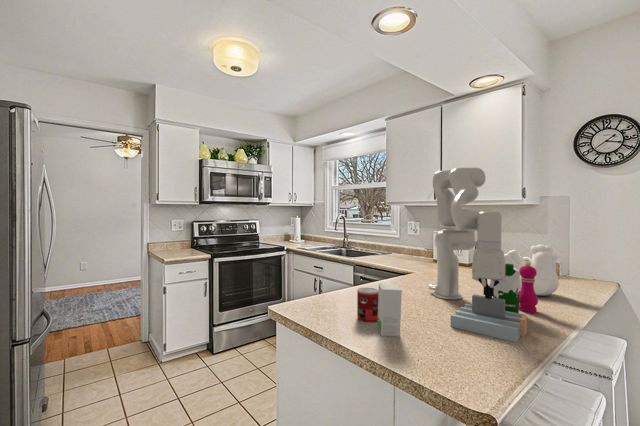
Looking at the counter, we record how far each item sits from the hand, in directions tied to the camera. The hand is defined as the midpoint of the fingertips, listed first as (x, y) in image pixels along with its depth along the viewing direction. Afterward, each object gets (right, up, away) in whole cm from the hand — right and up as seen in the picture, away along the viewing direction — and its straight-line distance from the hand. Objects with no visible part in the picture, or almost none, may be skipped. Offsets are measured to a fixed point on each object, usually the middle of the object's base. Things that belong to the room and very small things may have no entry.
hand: (488, 297), depth 110 cm
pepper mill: (+26, -10, +18) cm, 33 cm away
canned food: (-42, -10, +7) cm, 43 cm away
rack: (0, -10, 0) cm, 10 cm away
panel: (0, -9, 0) cm, 9 cm away
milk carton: (+15, -10, +14) cm, 23 cm away
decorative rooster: (+45, -10, +46) cm, 65 cm away
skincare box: (-36, -10, -5) cm, 38 cm away
